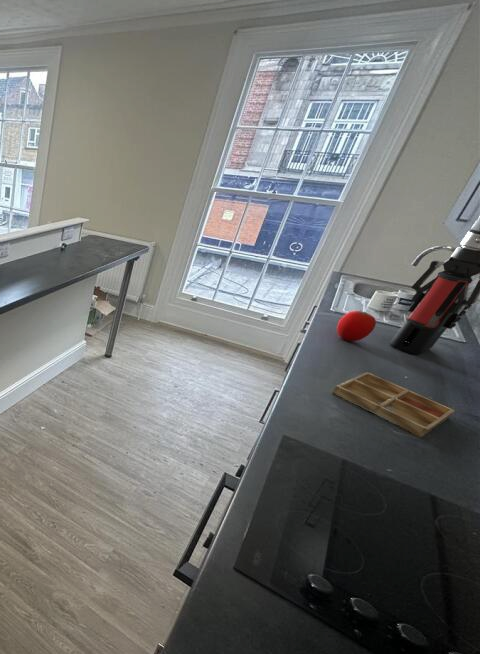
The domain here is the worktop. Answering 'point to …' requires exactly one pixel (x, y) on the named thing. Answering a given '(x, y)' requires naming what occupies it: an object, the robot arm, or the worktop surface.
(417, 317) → the speaker
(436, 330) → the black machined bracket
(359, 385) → the wooden divided tray
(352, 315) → the red egg shape
